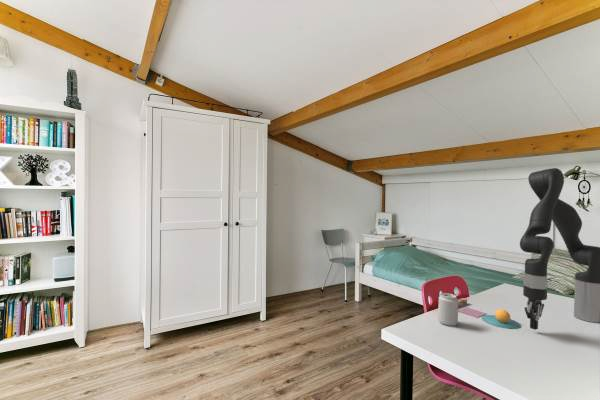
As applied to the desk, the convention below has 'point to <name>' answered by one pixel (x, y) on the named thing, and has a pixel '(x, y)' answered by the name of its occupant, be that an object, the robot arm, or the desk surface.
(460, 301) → the stopper
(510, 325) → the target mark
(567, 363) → the desk surface
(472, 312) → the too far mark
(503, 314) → the ball
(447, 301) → the can
